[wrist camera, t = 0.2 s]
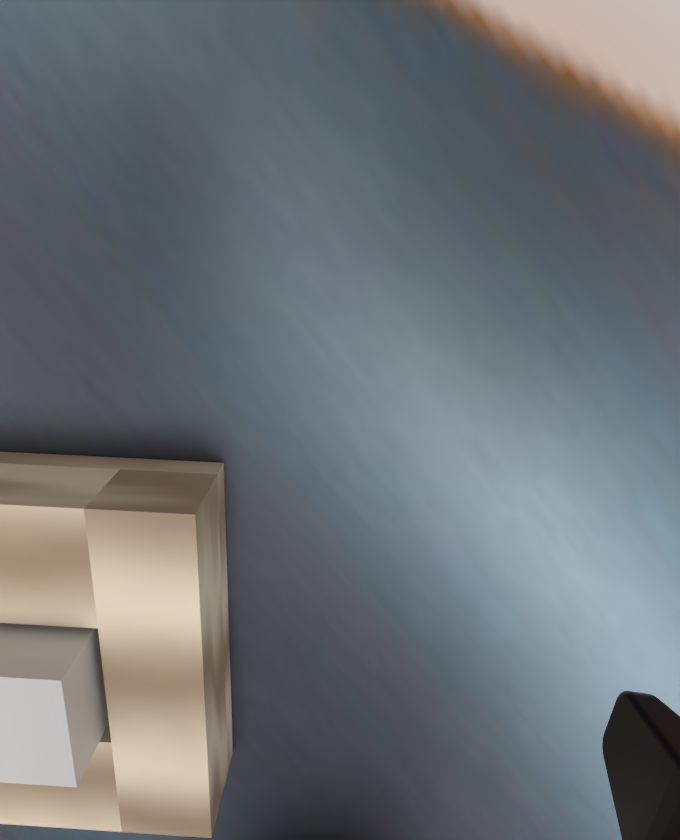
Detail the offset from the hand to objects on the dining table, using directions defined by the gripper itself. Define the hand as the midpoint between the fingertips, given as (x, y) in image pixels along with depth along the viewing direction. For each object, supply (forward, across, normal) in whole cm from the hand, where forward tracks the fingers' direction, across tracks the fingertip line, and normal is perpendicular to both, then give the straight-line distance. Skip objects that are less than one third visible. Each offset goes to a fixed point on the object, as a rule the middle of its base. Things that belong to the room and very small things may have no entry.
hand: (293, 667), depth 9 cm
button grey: (+12, +9, +11) cm, 18 cm away
